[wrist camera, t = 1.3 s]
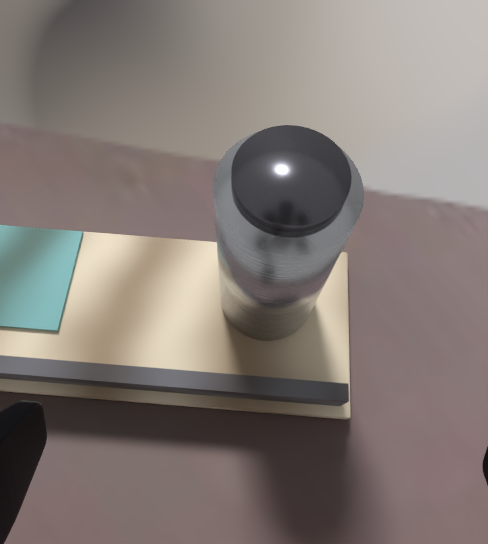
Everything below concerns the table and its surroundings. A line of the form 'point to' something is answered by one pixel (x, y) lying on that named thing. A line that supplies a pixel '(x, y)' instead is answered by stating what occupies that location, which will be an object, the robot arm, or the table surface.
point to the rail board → (157, 328)
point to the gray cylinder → (281, 226)
